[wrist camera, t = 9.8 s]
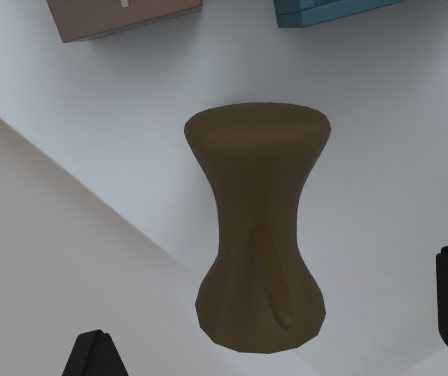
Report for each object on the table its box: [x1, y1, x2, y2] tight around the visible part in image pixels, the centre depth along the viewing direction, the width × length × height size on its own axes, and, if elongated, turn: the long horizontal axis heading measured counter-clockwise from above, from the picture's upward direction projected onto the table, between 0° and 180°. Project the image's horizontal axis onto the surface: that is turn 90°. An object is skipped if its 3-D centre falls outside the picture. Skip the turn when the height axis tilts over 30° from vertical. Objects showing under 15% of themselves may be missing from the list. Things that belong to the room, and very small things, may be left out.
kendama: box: [184, 102, 331, 354], centre depth 20 cm, size 6×10×20 cm, turn 3°
